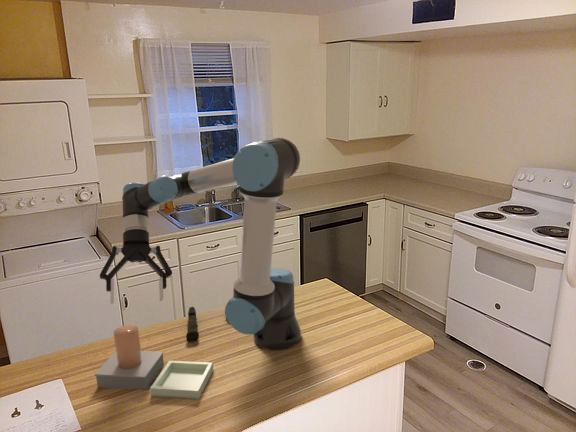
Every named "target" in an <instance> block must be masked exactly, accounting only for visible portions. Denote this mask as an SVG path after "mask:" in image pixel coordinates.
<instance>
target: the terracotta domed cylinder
mask: <svg viewBox="0 0 576 432" xmlns="http://www.w3.org/2000/svg"><path fill="white" fill-rule="evenodd" d="M139 333H140V332H139V327H138V326H137V325H134V324H125V325H122V326H119V327H117V328H116V329H115V330H114V331H113V338H114V347H115V351H116V353H117V360H118V366H119V367H120V368H122V369H131V368H134V367H137V366H138V365H140V364H141V362H142V355H141V351H142V349H141V342H140V341H141V340H140V334H139Z"/></svg>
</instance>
